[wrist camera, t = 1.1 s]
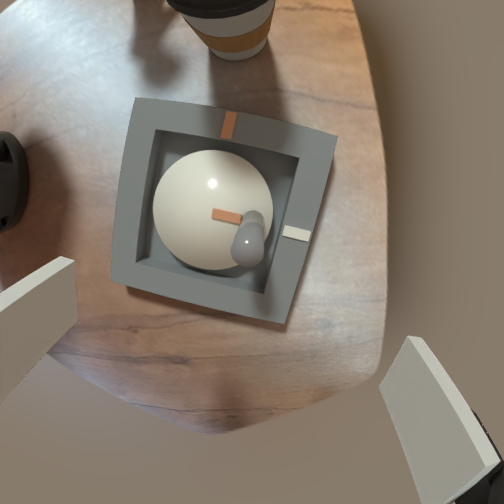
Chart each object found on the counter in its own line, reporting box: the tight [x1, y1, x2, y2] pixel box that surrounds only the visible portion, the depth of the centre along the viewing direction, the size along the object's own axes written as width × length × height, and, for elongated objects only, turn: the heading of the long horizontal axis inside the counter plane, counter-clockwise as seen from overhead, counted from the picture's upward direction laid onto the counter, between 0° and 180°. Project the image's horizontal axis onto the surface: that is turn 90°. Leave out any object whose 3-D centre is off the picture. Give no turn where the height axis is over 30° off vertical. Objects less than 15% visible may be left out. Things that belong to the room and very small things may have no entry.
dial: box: [153, 150, 273, 270], centre depth 25 cm, size 12×12×11 cm
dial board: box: [111, 98, 338, 324], centre depth 29 cm, size 20×20×3 cm
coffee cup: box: [167, 0, 275, 61], centre depth 18 cm, size 8×8×15 cm
